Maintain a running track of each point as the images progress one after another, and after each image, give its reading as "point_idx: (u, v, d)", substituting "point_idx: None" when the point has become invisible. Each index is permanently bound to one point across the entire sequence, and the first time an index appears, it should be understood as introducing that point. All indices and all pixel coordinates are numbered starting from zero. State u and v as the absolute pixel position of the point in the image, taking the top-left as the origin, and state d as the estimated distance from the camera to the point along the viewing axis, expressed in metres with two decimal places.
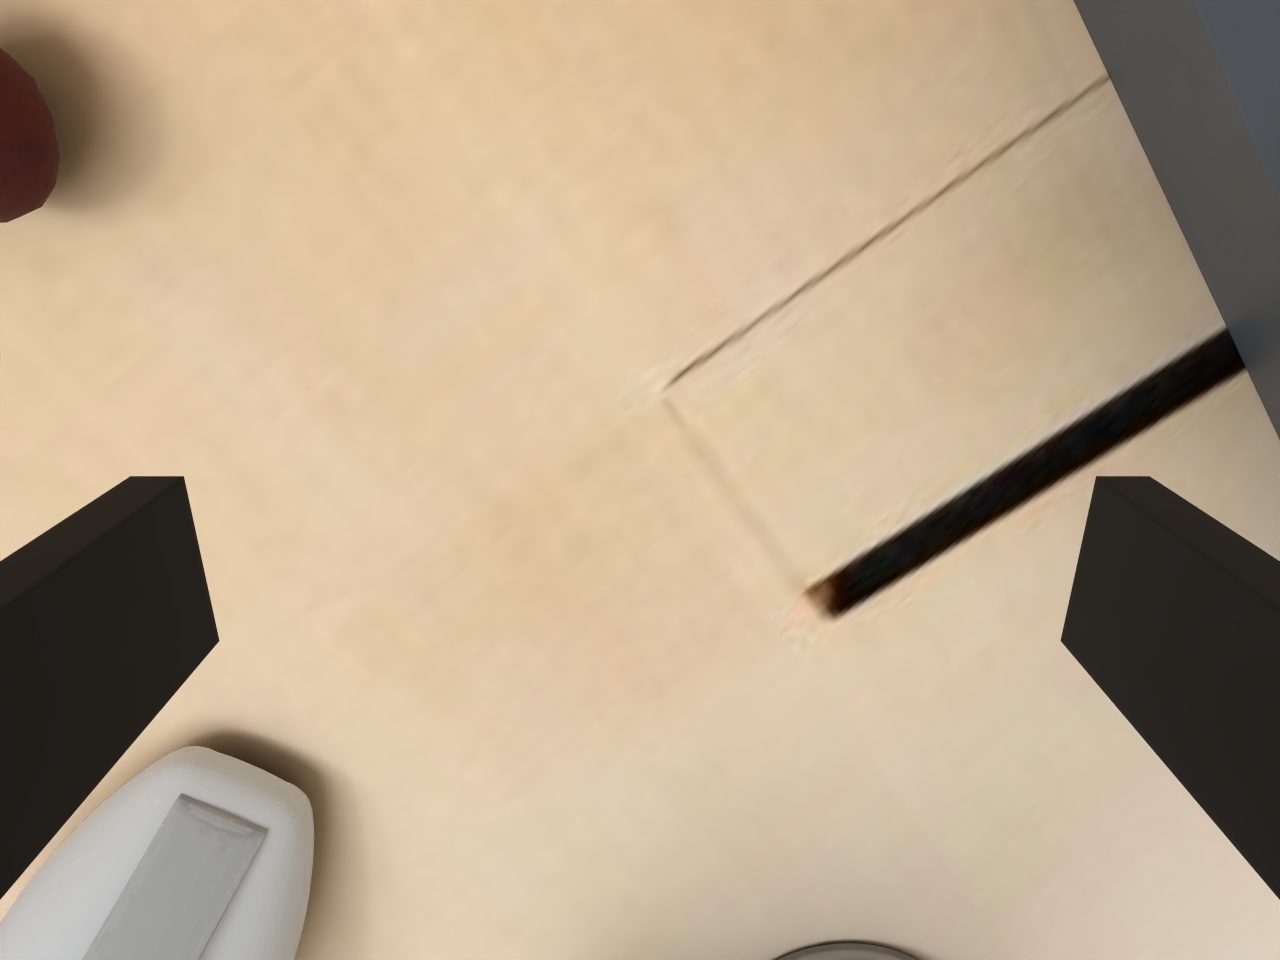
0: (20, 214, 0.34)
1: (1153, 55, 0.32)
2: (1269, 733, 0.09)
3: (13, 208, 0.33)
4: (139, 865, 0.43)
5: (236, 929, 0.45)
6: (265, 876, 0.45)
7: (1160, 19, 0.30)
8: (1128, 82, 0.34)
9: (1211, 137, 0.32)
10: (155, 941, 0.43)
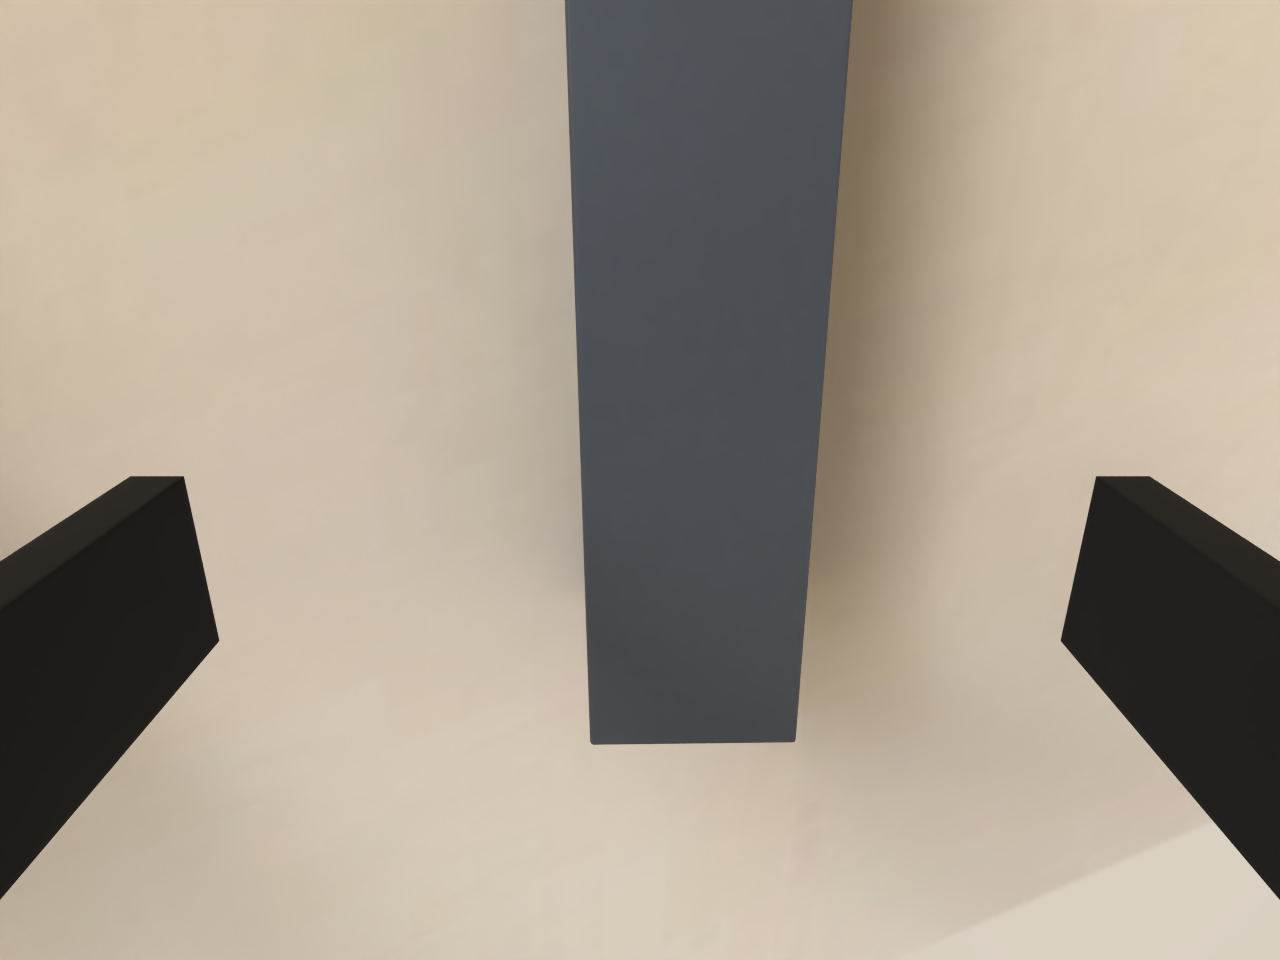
0: None
1: None
2: (1269, 732, 0.09)
3: None
4: None
5: None
6: None
7: None
8: None
9: None
10: None
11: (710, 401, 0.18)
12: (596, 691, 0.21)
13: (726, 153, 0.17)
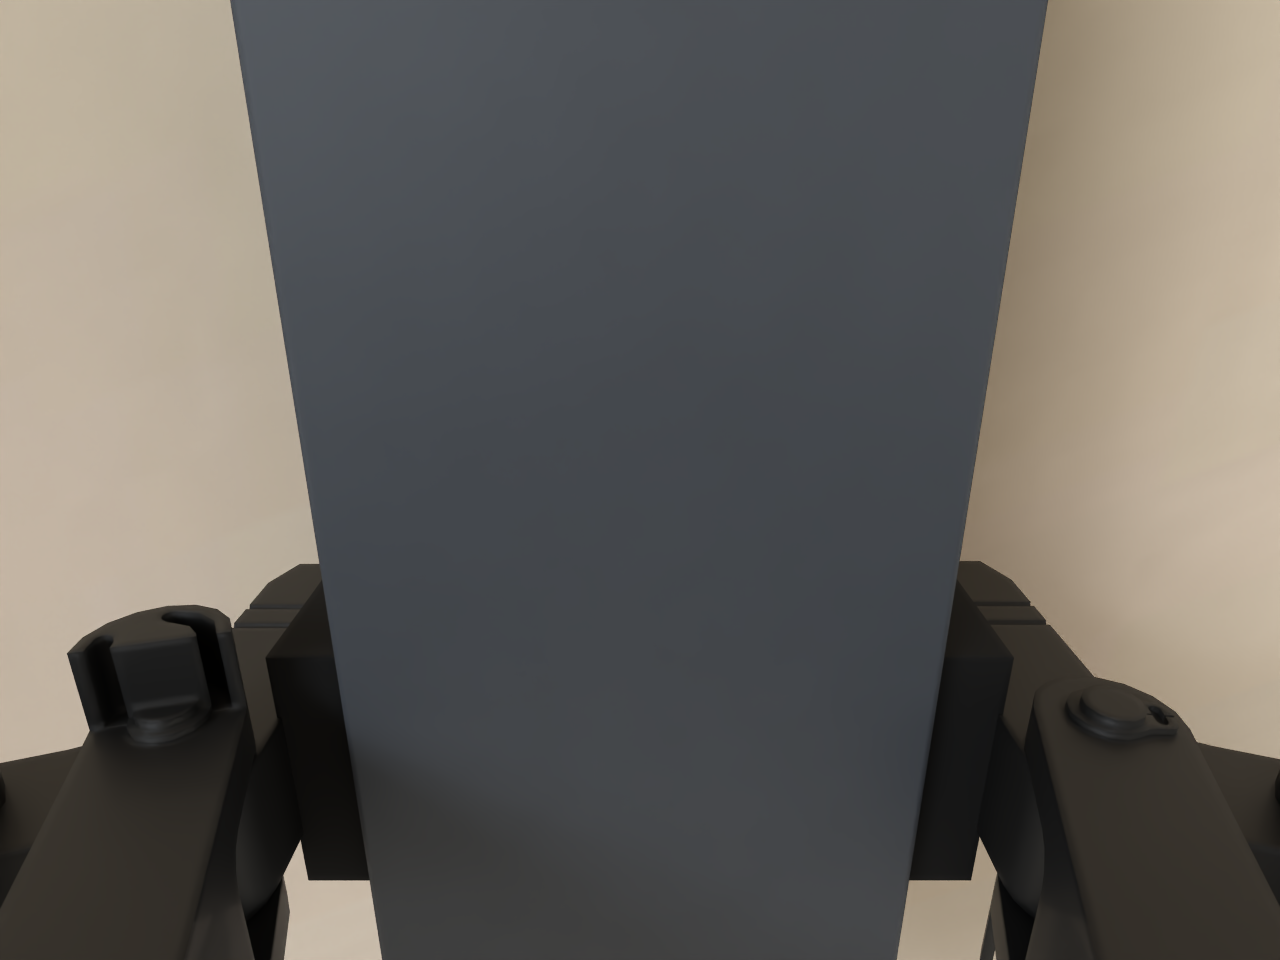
0: None
1: None
2: None
3: None
4: None
5: None
6: None
7: None
8: None
9: None
10: None
11: (666, 414, 0.06)
12: None
13: None
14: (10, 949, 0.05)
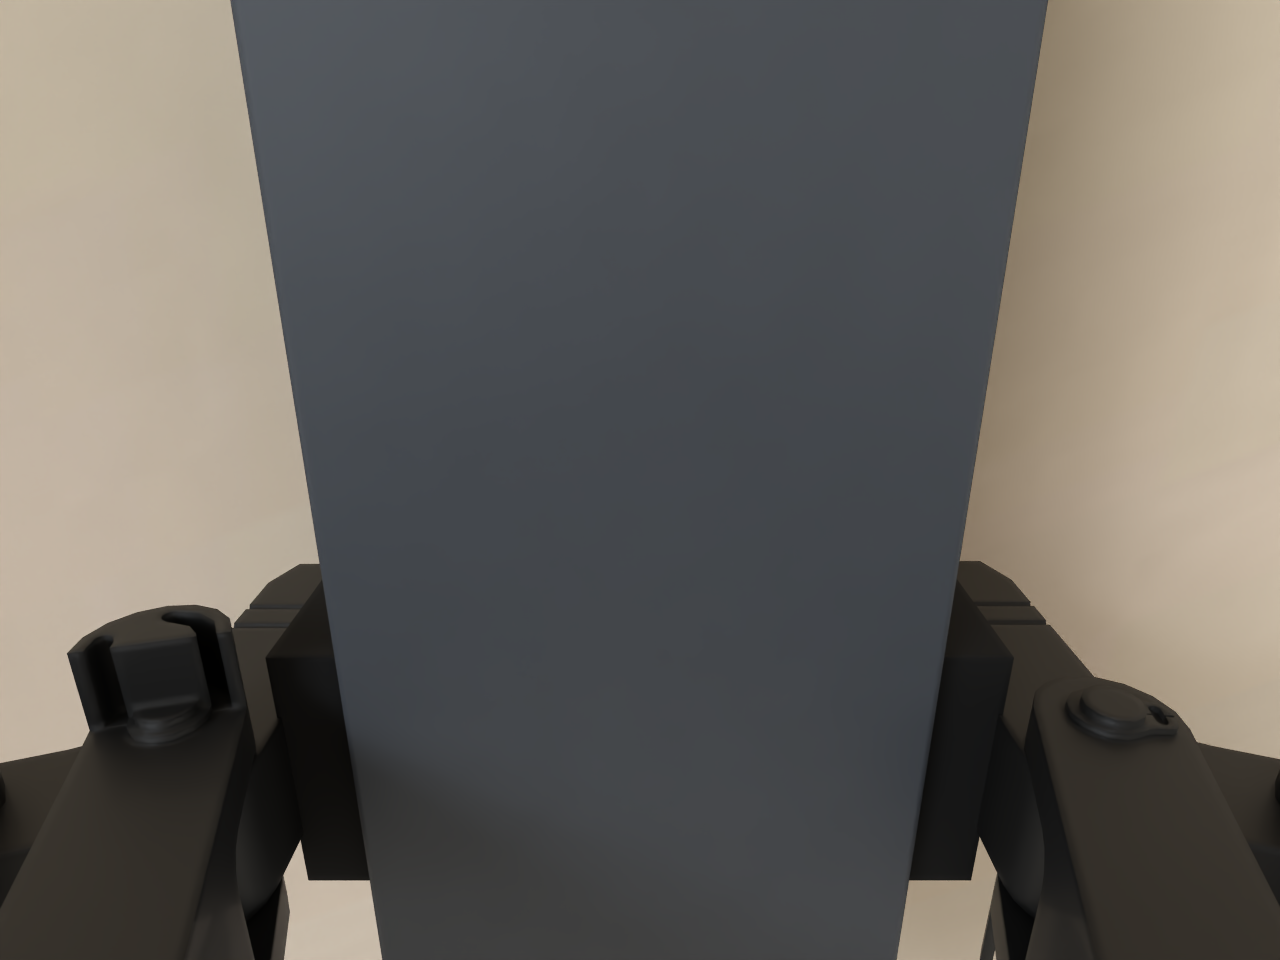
0: None
1: None
2: None
3: None
4: None
5: None
6: None
7: None
8: None
9: None
10: None
11: (667, 414, 0.06)
12: None
13: None
14: (11, 949, 0.05)
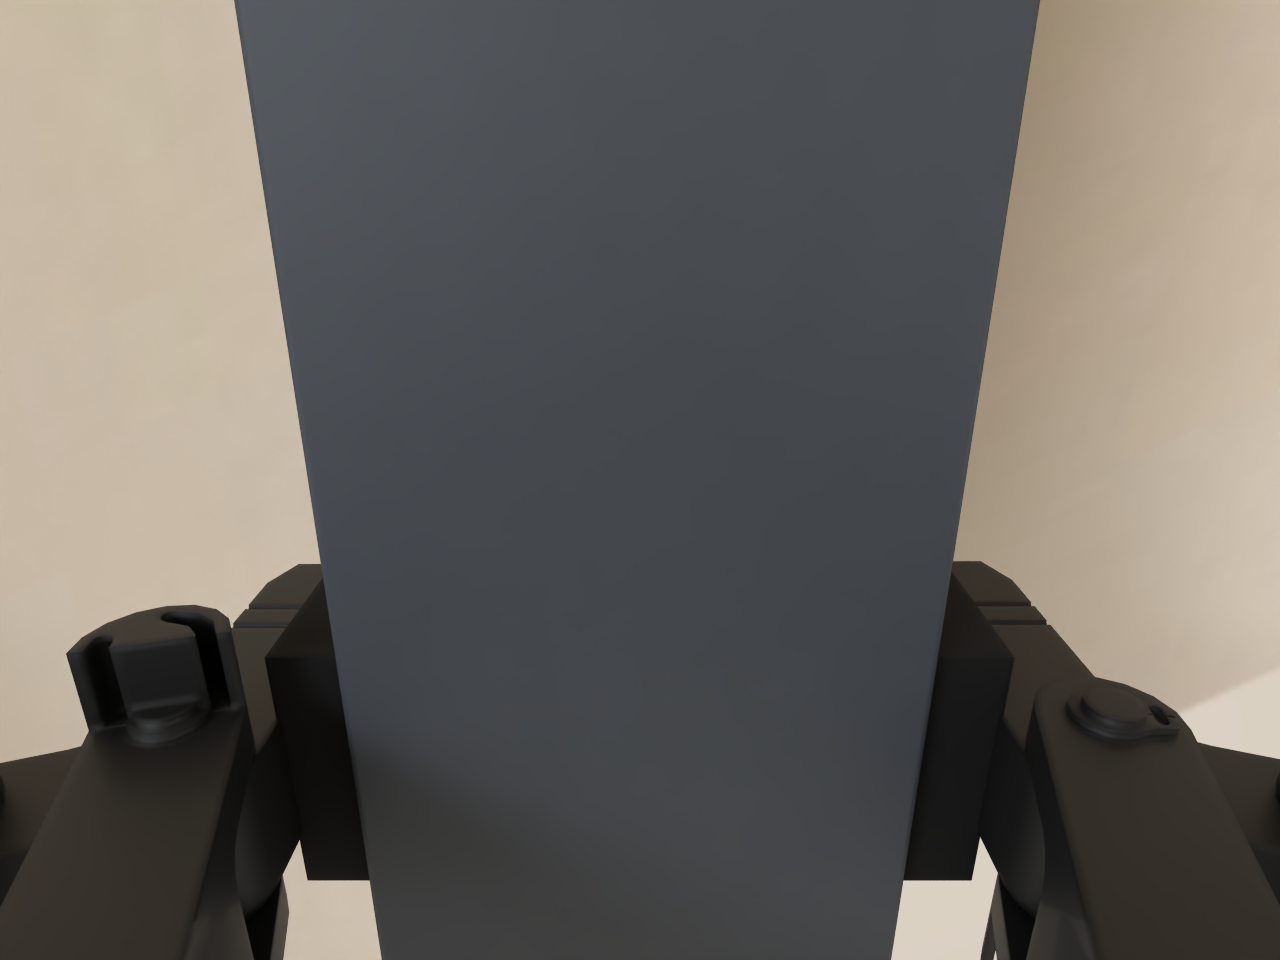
0: None
1: None
2: None
3: None
4: None
5: None
6: None
7: None
8: None
9: None
10: None
11: (664, 406, 0.07)
12: None
13: None
14: (9, 949, 0.05)
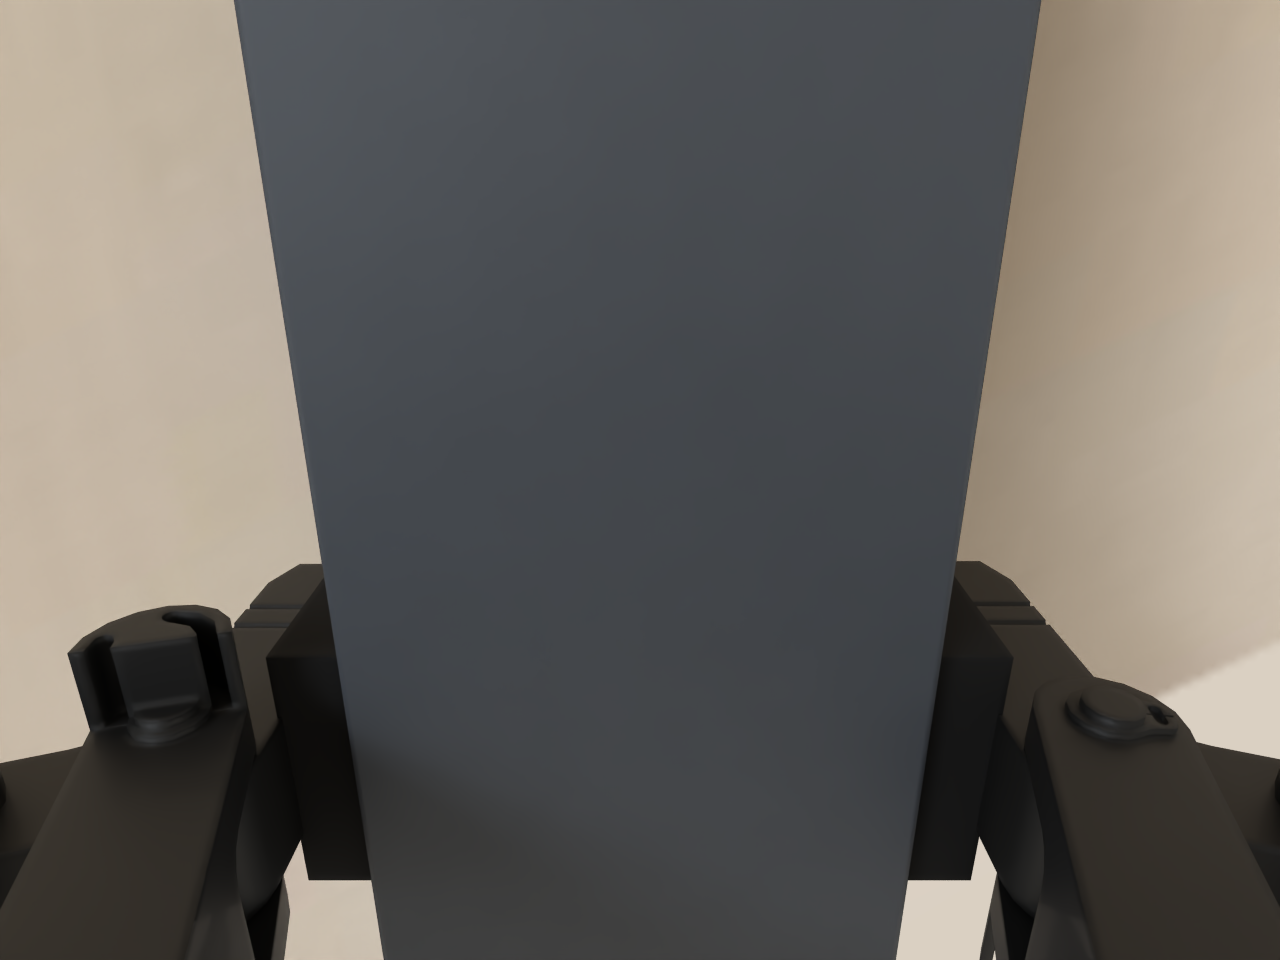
0: None
1: None
2: None
3: None
4: None
5: None
6: None
7: None
8: None
9: None
10: None
11: (665, 406, 0.07)
12: None
13: None
14: (11, 949, 0.05)
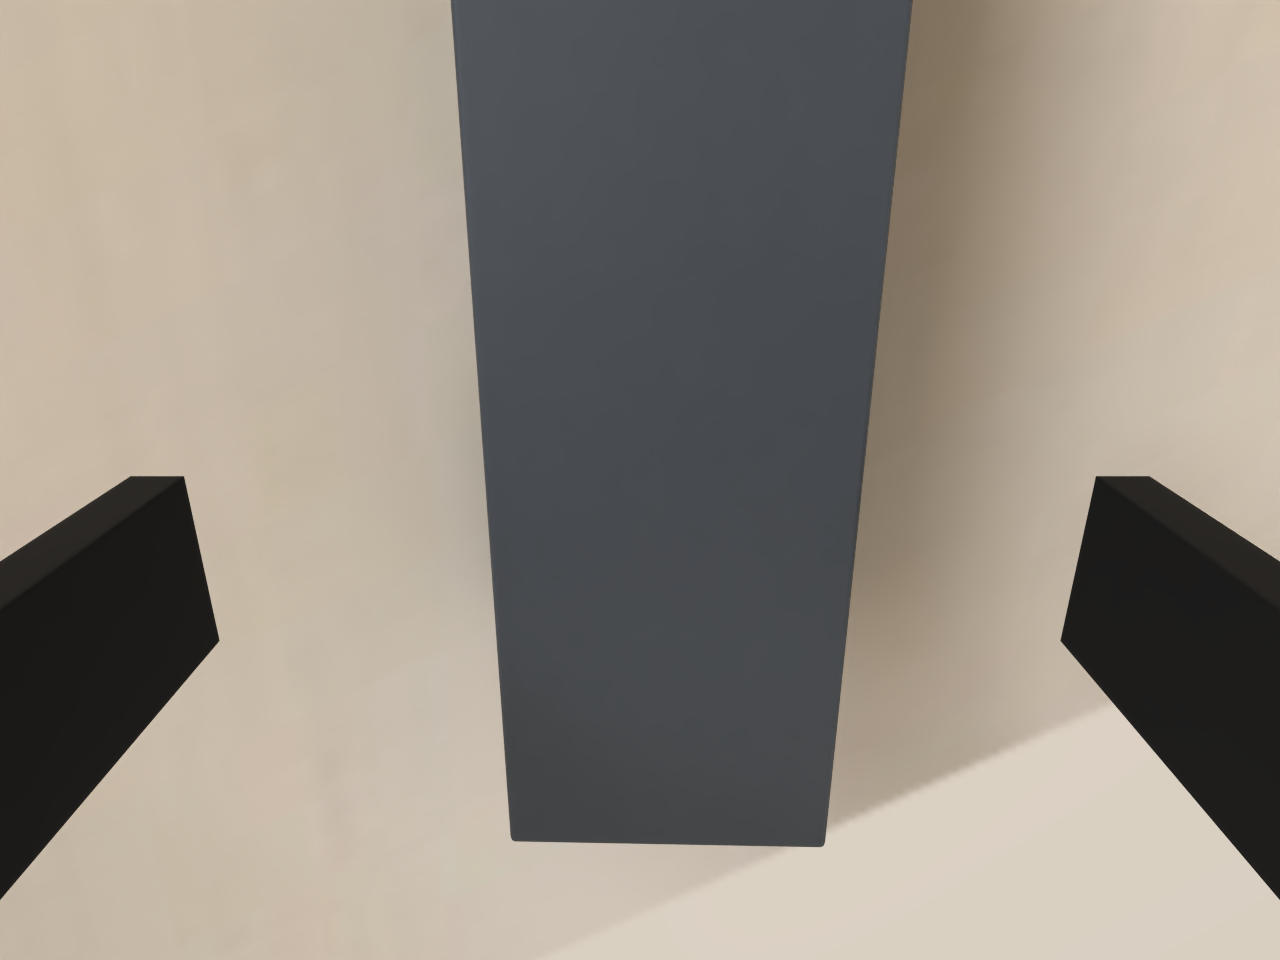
0: None
1: None
2: (1269, 732, 0.09)
3: None
4: None
5: None
6: None
7: None
8: None
9: None
10: None
11: (692, 295, 0.11)
12: (516, 763, 0.14)
13: None
14: None
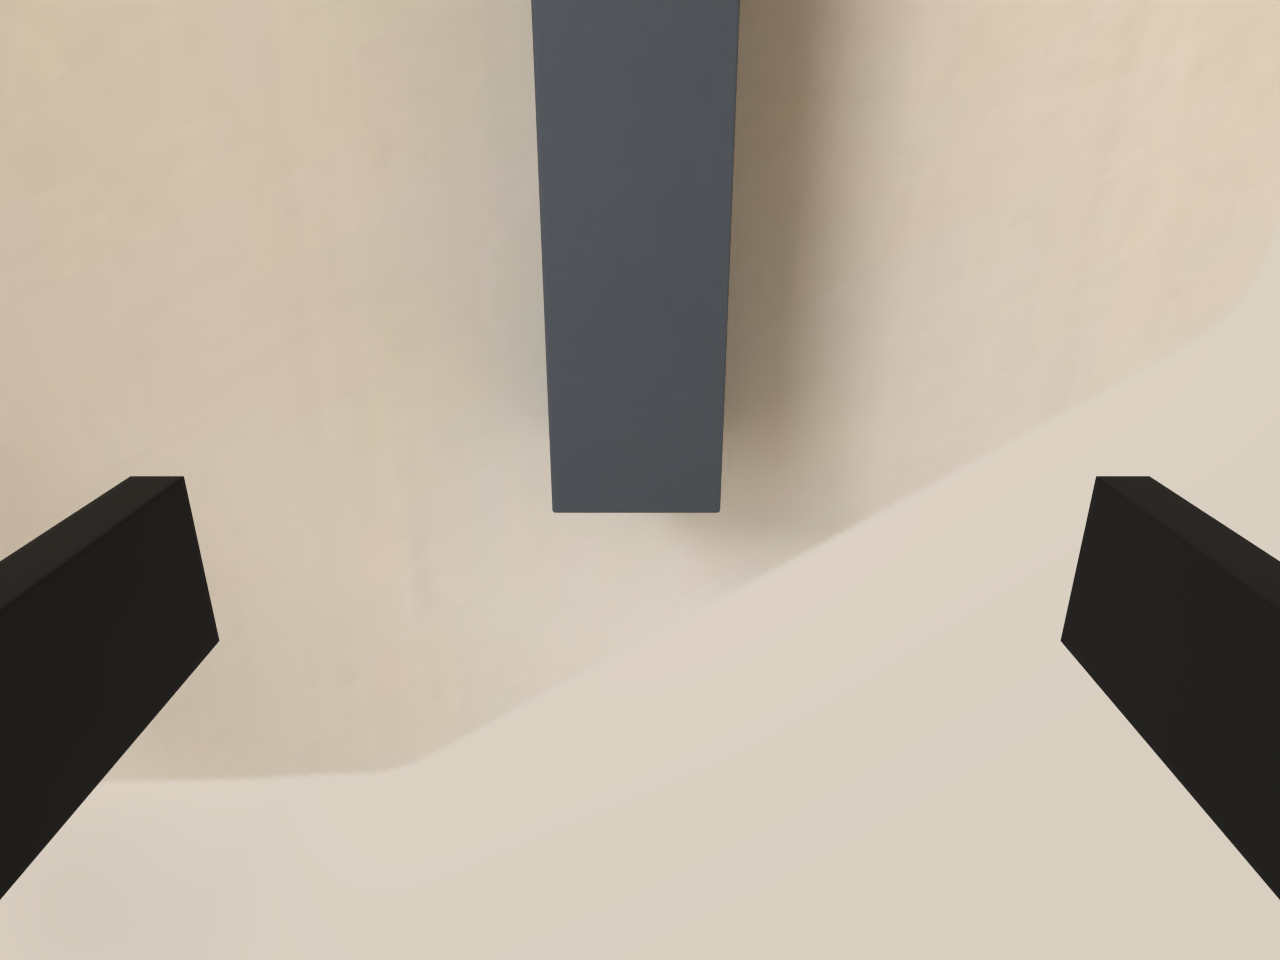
0: None
1: None
2: (1269, 732, 0.09)
3: None
4: None
5: None
6: None
7: None
8: None
9: None
10: None
11: (643, 209, 0.23)
12: (556, 463, 0.26)
13: (650, 2, 0.21)
14: None
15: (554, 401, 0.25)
